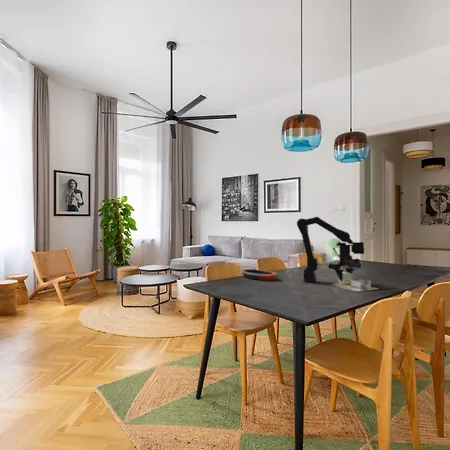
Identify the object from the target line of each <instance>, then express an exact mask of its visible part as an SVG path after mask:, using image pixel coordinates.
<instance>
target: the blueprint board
mask: <svg viewBox="0 0 450 450" xmlns="http://www.w3.org/2000/svg"><path fill="white" fill-rule="evenodd" d="M330 285H331V286H335V287H337V288H341V289H346V290H349V291H353V292H358V294H359V293H362V292H366V291H368V293H369V292H372V291H376V290H378V288H377V287H373V286H372V280H370V279H367V278H363V277H362V278H361V277H358V278H351V284H341V283H330Z"/></svg>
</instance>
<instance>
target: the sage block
mask: <svg viewBox="0 0 450 450" xmlns="http://www.w3.org/2000/svg"><path fill="white" fill-rule="evenodd" d="M337 277H338V276H337ZM337 279H338V280H337V282H338V283H341V284H351V279H352V275H351V273H348V272H346V271H343V272H342V281H340V279H339V277H338V278H337ZM338 283H337V284H338Z"/></svg>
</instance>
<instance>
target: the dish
mask: <svg viewBox="0 0 450 450" xmlns="http://www.w3.org/2000/svg"><path fill="white" fill-rule="evenodd" d="M240 271H241V274H242V276H244V277H245V278H247V277H248V278H247V279H251V278H252V279H251V280H256V279H257V281H275V280H277V278H278V277H279V274H278V273H276V272H275V271H274V272H273V271H270V270H269V271H268V270H262V269H256V268H253V269H252V268H248V269H247V268H245V269H241V270H240Z"/></svg>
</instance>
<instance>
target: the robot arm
mask: <svg viewBox="0 0 450 450" xmlns="http://www.w3.org/2000/svg"><path fill="white" fill-rule="evenodd" d="M314 224H316V225H318V226H320V227H322V228H323V229H324V230H326V231H328V232H330V233H331V234H332V235H334V236H335V237H336V238H337V239H338V240H339V241H338V242H337V243H336V246H337V247H339V254H337V257H339V261H338V262H337V263H336V262H331V263H329V264H328V269H331V270H334V271H335V273H336V275H337V277H339V279H340V281H342V272H344V269H343V268H345V272H348V273H351V276H352V274H353V272H354V271H355V270H357V269H360V268H362V264H361V260H360V259H359V258H355V259H354V258H353V255H364V254H365V246H364V243H365V242H364V241H360V242H357V241H356V242H355V241H353V240H352V239H351V234H350V233H349V232H347V231H344V230H342V229H339V228H337V227H335V226H333V225H332V224H330V223H328V222H326V221H325V220H323V219H321V218H320V217H319V216H315V217H311V218H310V217H309V218H299V219H298V220H297V221H296V226H297V228H298V230H299V233H300V234H301V237H302V241H303V246H304V249H305V253H306V266H307V267H306V268H304V270H303V284H305V285H306V284H313V283H317V276H316V271H317V270H318V269H319V265H320V263H319V258H318V257H315V255H314V251H313V248H312V247H313V246H312V243H311V239H310V235H309V226H311V225H314ZM340 241H341V242H340ZM351 253H353V255H351Z"/></svg>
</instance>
